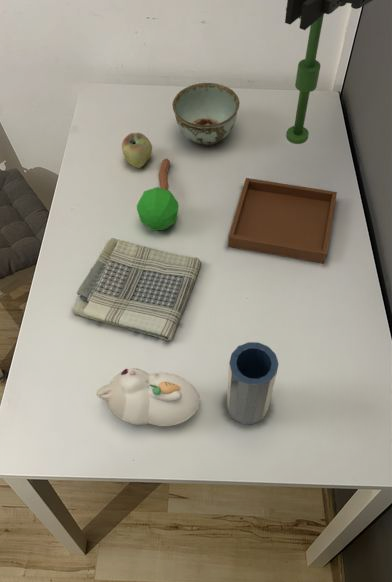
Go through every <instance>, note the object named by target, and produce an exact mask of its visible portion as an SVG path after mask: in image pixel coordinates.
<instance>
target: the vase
mask: <svg viewBox="0 0 392 582" xmlns="http://www.w3.org/2000/svg"><path fill="white" fill-rule="evenodd" d="M278 369H279V360H278V357H277V354H276V353H275V351H274V350H272V349H271V348H270V347H269V346H268V345H266V344H264V343H261V342H259V341H257V342H255V341H253V342H252V341H250V342H246V343H245V342H244V343H243V344H240V345H238V346H237V347H236V348H235V349H234V350H233V351H232V352H231V354H230V358H229V362H228V377H227V395H226V409H227V412H228V414H229V416H230V417H231V418H232V419H233V420H234V421H235V422H237V423H239V424H242V425H255V424H258V423H259V422H260V421H262V420H263V419H264V418H265V416H266V415H267V413H268V410H269V406H270V401H271V398H272V394H273V390H274V386H275V382H276V378H277V373H278Z"/></svg>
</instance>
